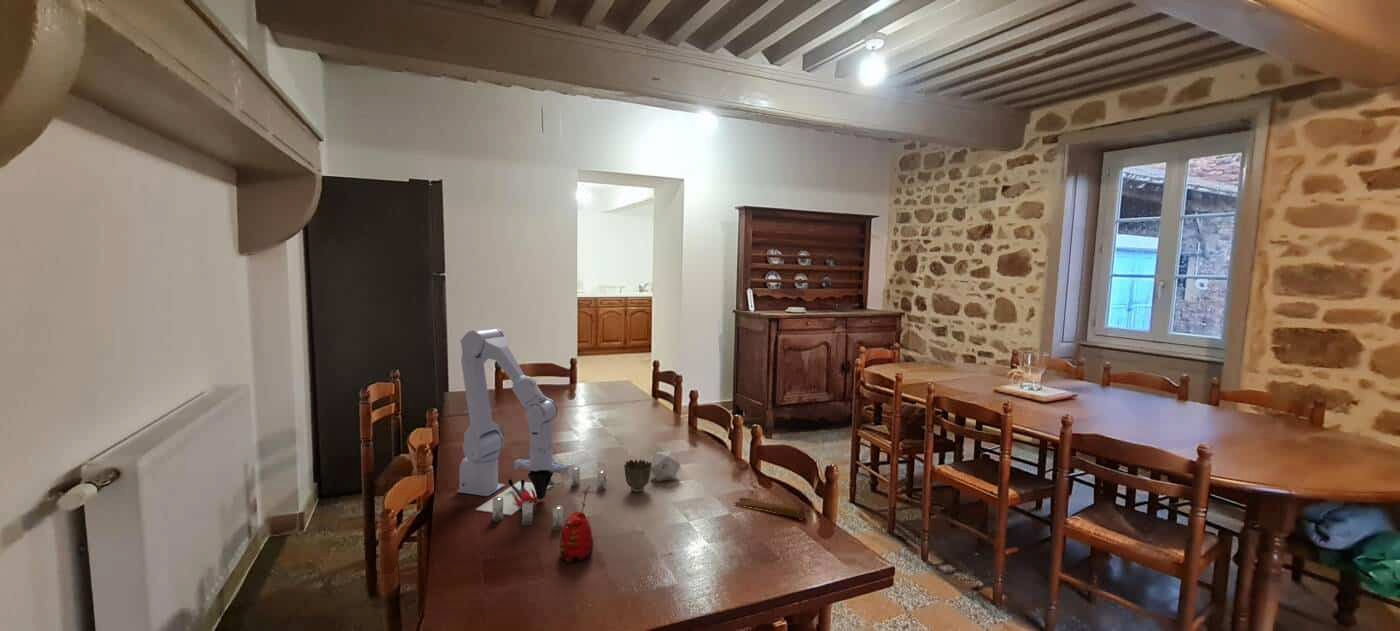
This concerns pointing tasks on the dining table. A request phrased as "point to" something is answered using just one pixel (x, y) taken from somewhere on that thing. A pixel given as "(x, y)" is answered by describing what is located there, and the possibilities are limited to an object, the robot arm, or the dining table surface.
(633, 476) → the cup
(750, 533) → the dining table surface
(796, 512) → the primitive tool
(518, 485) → the mat
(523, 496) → the person figure
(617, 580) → the dining table surface
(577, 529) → the red clay folk toy
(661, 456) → the die
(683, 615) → the dining table surface
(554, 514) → the spacer field
